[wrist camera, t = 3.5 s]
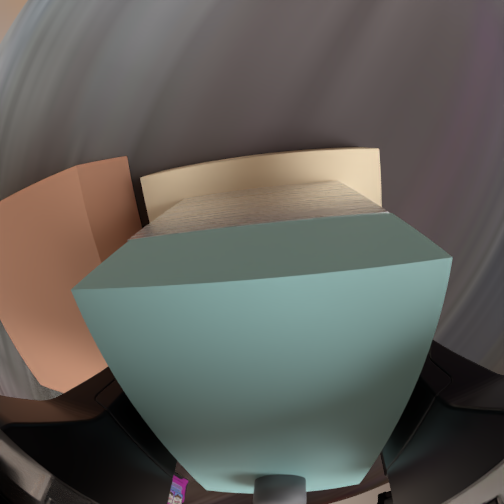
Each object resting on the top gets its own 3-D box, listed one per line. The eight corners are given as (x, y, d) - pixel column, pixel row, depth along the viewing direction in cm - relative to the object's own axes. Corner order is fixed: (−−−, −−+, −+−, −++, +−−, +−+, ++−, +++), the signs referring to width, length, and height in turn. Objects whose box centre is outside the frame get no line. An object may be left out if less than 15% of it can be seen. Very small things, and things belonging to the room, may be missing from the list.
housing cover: (392, 213, 4) (490, 289, 2) (352, 438, 7) (362, 502, 5) (130, 239, 5) (38, 321, 2) (214, 445, 8) (202, 508, 5)
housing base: (338, 180, 8) (388, 211, 4) (336, 364, 11) (351, 437, 7) (184, 198, 9) (126, 239, 5) (227, 372, 12) (213, 445, 8)
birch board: (360, 147, 9) (378, 148, 8) (355, 347, 13) (364, 373, 11) (161, 170, 10) (139, 177, 8) (209, 358, 14) (202, 385, 12)
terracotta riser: (127, 155, 10) (76, 165, 7) (188, 370, 15) (173, 416, 11) (2, 205, 11) (-36, 222, 8) (63, 355, 16) (41, 385, 13)
